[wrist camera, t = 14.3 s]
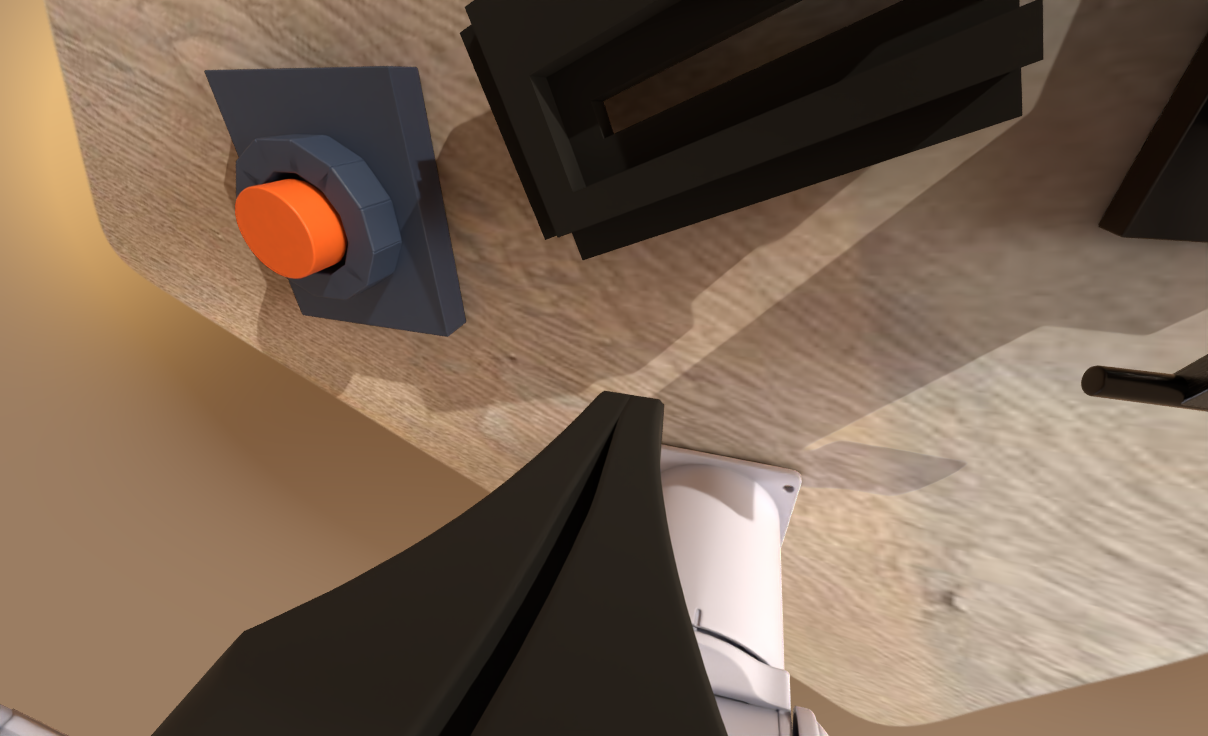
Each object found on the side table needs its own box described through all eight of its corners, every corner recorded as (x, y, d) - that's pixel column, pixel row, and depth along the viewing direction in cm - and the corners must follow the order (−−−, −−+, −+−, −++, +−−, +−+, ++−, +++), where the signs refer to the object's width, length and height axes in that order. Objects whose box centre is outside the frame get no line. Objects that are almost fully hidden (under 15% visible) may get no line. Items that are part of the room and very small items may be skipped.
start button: (358, 269, 20) (326, 283, 18) (293, 261, 20) (258, 275, 19) (330, 180, 18) (293, 189, 16) (260, 176, 19) (218, 184, 17)
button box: (466, 322, 23) (425, 355, 21) (326, 302, 26) (272, 330, 23) (418, 67, 18) (351, 64, 15) (242, 71, 20) (154, 69, 17)
